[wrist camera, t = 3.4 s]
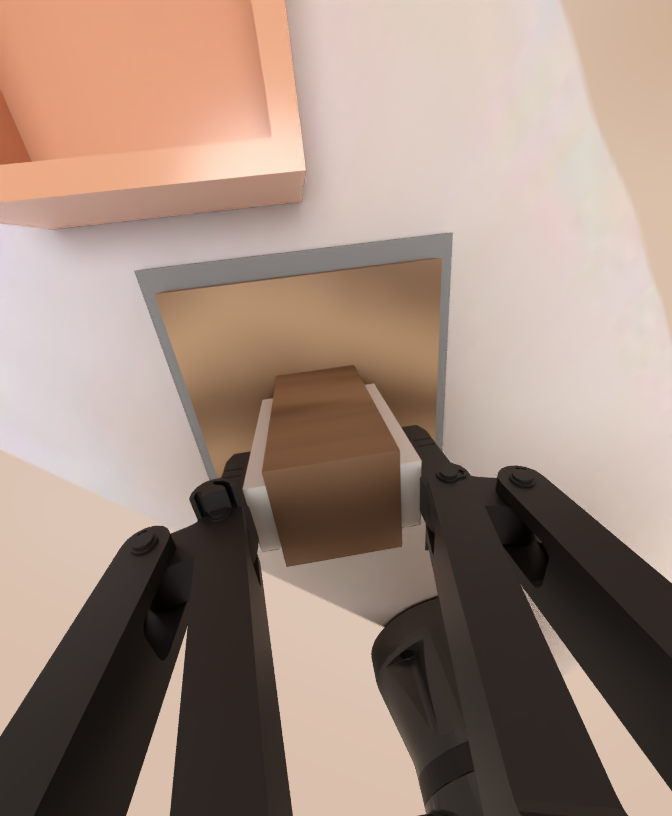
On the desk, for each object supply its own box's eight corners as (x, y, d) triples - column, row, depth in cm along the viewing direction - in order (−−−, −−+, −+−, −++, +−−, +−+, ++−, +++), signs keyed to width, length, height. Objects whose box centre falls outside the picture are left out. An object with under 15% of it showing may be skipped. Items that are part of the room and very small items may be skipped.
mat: (437, 473, 22) (440, 478, 22) (224, 508, 22) (222, 514, 21) (447, 233, 16) (452, 232, 15) (139, 270, 15) (134, 270, 14)
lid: (426, 469, 21) (509, 603, 13) (233, 501, 21) (192, 663, 12) (432, 258, 16) (583, 261, 7) (164, 291, 15) (3, 335, 7)
